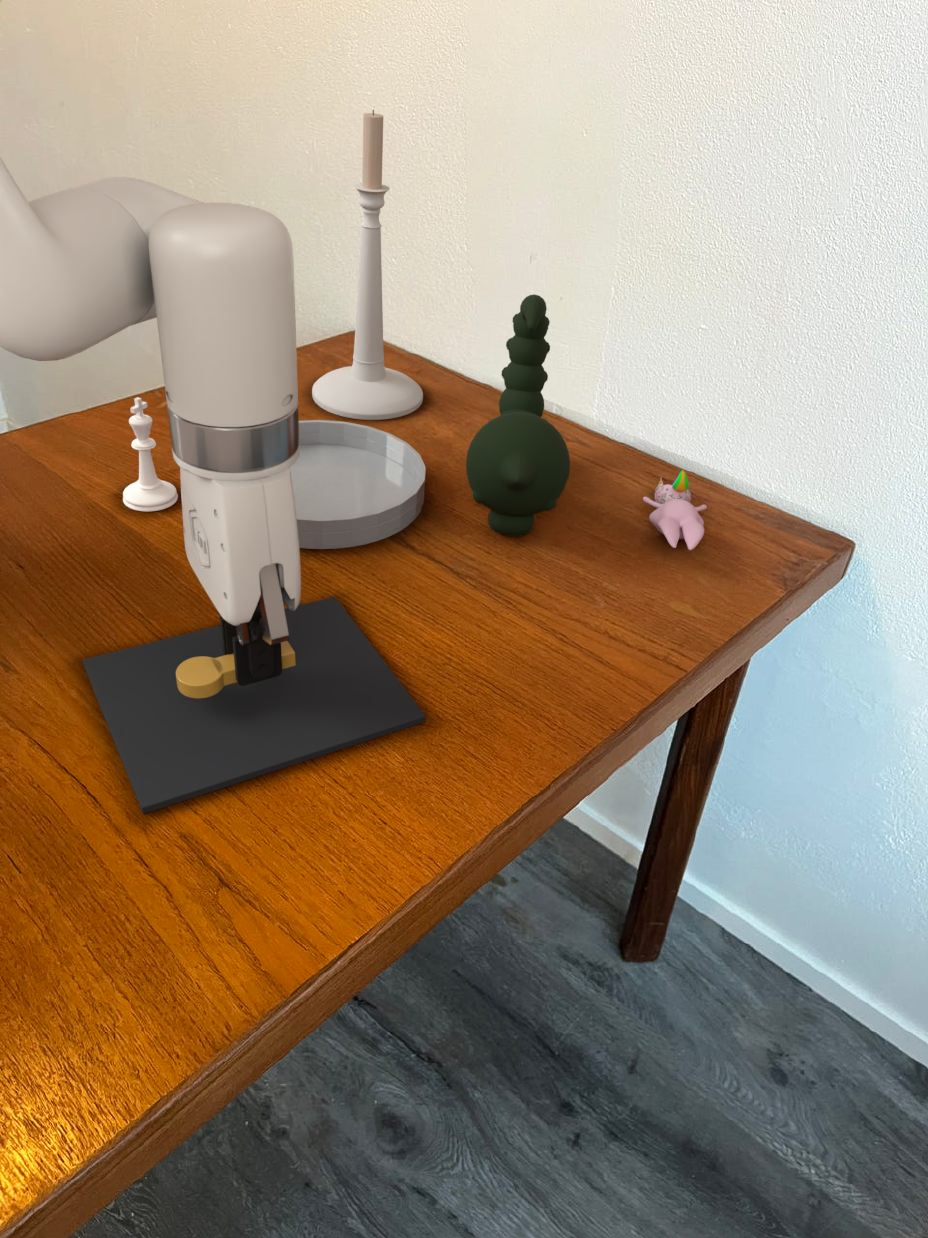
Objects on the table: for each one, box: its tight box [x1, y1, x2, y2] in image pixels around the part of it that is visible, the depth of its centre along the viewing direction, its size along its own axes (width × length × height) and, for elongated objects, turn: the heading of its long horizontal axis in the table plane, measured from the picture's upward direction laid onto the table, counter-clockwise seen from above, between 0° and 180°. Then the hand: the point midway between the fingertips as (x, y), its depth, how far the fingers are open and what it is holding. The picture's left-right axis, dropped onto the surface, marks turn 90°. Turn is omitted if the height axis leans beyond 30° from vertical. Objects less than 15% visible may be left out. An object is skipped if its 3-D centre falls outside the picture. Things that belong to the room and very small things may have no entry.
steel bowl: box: [290, 419, 427, 550], centre depth 93 cm, size 20×20×3 cm
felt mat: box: [82, 596, 427, 814], centre depth 70 cm, size 20×16×1 cm
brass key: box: [176, 641, 296, 699], centre depth 68 cm, size 8×3×1 cm, turn 120°
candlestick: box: [311, 109, 424, 421], centre depth 104 cm, size 13×13×30 cm
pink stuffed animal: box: [642, 470, 708, 551], centre depth 92 cm, size 6×6×15 cm
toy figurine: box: [465, 294, 571, 537], centre depth 91 cm, size 9×19×25 cm
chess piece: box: [122, 396, 179, 513], centre depth 88 cm, size 5×5×10 cm
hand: (253, 666), depth 69 cm, fingers closed on brass key, 1 cm apart
